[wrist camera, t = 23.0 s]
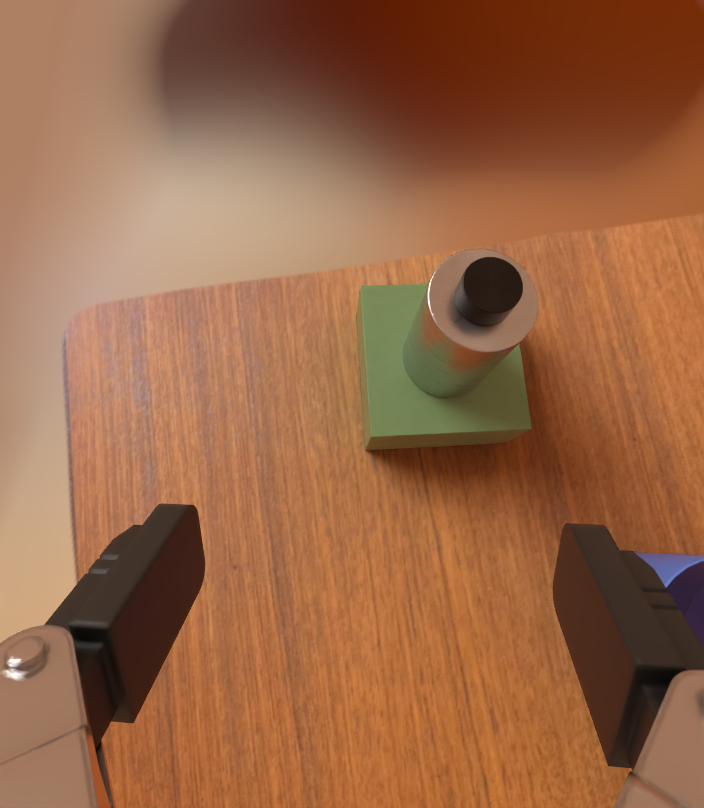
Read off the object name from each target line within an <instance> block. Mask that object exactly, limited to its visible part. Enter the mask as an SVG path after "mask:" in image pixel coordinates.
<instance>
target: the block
mask: <svg viewBox="0 0 704 808" xmlns="http://www.w3.org/2000/svg"><path fill="white" fill-rule="evenodd" d="M427 286H428V284H412V285H381V286H361V287H360V293H359V301H358V308H357V315H356V321H357V336H358V351H359V367H360V382H361V397H362V413H363V428H364V444H365V450H379V449H399V448H419V447H438V446H458V445H478V444H497V443H506V442H508V441H510V440H512V439H514V438H516V437H518V436H520V435H521V434H523V433H525V432H527V431H529V430H531V429H532V427H531V420H530V413H529V406H528V399H527V392H526V385H525V378H524V371H523V364H522V357H521V350H520V343H519V344H518V345H517V346H516V347H515V348H514V349H513V350H512V351H511V352H510V353H509V354H508V355H507V356H506V357H505V358H504V359H503V360H502V361H501V362H500V363H499V364H498V366H497V367H496V368H495V369H494V370H493V371H492V372H491V373H490V374H489V375H488V376H487V377H486V378H485V379H484V380H483V381H482V382H481V383H480V384H479V385H478V386H477V387H475V388H474V389H473V390H472V391H470V392H469V393H467V394H465V395H462V396H459V397H454V398H441V397H436V396H433V395H430V394H428V393H426V392H425V391H423V390H421V389H420V388H419V387H418V386H416V384H415V383H414V382H413V381H412V380H411V379H410V377H409V375H408V374H407V372H406V369H405V366H404V362H403V348H404V344H405V341H406V339H407V336H408V334H409V331H410V329H411V326H412V324H413V321H414V319H415V316H416V314H417V311H418V309H419V306H420V304H421V301H422V299H423V296H424V294H425V291H426V289H427Z"/></svg>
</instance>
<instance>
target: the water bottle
mask: <svg viewBox="0 0 704 808" xmlns="http://www.w3.org/2000/svg"><path fill="white" fill-rule="evenodd" d="M634 553H635V554H637V555H638V556H639V557H640V558H642V559H643V560H644V561H645V562H646V563H648V564H649V565H650V566H651V567H652V568H654V570H655V571H656V573H657V574H658V576H659V578H660V579H661V581H662V582H663V584H664V585H665V587H666V589H667V593H670V595H671V597H672V598H673V600H674V601H675V603H676V605H677V609H678V610H680V611H681V613H682V614H683V616H684V617H685V619H686V621H687V622H688V624H689V625H690V627H691V628H692V630H693V632H694V633H695V635H696V636H697V638H698V640H699V641H700V643H701V644H702V646H703V648H704V556H703V555H684V554H661V553H638V552H634Z"/></svg>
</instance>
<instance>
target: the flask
mask: <svg viewBox="0 0 704 808" xmlns="http://www.w3.org/2000/svg"><path fill="white" fill-rule="evenodd" d="M537 314H538V296H537V291H536V288H535V285H534V283H533V281H532V279H531V278H530V276H529V275H528V273H527V272H526V271H525V269H524V268H523V267H522V266H521V265H520V264H518V263H517V262H516V261H514V260H513V259H512V258H510V257H508V256H506V255H504V254H502V253H499V252H496V251H493V250H488V249H470V250H465V251H461V252H458V253H456V254H454V255H452V256H450V257H449V258H447V259H446V260H444V261H443V262H442V263H441V264H440V265H439V266H438V267H437V268H436V270H435V271H434V273H433V275H432V277H431V279H430V281H429V284H428V286H427V289H426V291H425V294H424V296H423V299H422V301H421V304H420V306H419V309H418V311H417V314H416V316H415V319H414V321H413V324H412V326H411V329H410V331H409V334H408V336H407V339H406V341H405V344H404V348H403V362H404V366H405V369H406V372H407V374H408V375H409V377H410V379H411V380H412V381H413V382H414V383H415V384H416V386H418V387H419V388H420V389H421V390H423V391H425V392H426V393H428V394H430V395H433V396H436V397H441V398H454V397H459V396H462V395H465V394H467V393H469V392H470V391H472V390H473V389H474V388H475V387H477V386H478V385H479V384H480V383H481V382H482V381H483V380H484V379H485V378H486V377H487V376H488V375H489V374H490V373H491V372H492V371H493V370H494V369H495V368H496V367H497V366H498V364H499V363H500V362H501V361H502V360H503V359H504V358H505V357H506V356H507V355H508V354H509V353H510V352H511V351H512V350H513V349H514V348H515V347H516V346H517V345H518V344H519V343H520V342H521V341H522V340H523V339H524V338H525V337H526V336H527V335H528V334H529V332H530V331H531V329H532V328H533V326H534V324H535V321H536V318H537Z"/></svg>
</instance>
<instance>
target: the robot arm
mask: <svg viewBox="0 0 704 808" xmlns="http://www.w3.org/2000/svg"><path fill="white" fill-rule="evenodd" d="M204 573H205V557H204V550H203V544H202V537H201V530H200V523H199V517H198V511H197V509H196V507H195V506H194V505H182V504H159V505H158V506H157V507H156V508H155V509H154V511H153V512H152V513H151V515H150V516H149V517H148V519H147V520H146V521H145V522H144V524H143V525H133V526H132V527H130V528H129V529H127V530H126V531H125V532H123V533H122V534H120V535H119V536H117V537H116V538H114V539H113V540H112V542H111V543H110V544H109V545H108V546H107V548H106V549H105V550H104V551H103V553H102V554H101V555H100V559H97V560H96V561H95V563H94V564H93V565H92V566H91V568H90V569H89V572H88V574H85V575H84V576H83V577H82V579H81V580H80V581H79V582H78V584H77V585H76V586H75V587H74V589H73V590H72V591H71V592H70V594H69V595H68V596H67V597H66V599H65V600H64V601H63V602H62V604H61V605H60V606H59V607H58V609H57V610H56V611H55V612H54V613H53V615H52V616H51V617H50V618H49V620H48V621H47V622H46V624H45V625H43V626H37V627H32V628H29V629H26V630H23V631H21V632H19V633H16V634H14V635H12V636H11V637H9V638H7V639H6V640H4V641H3V642H1V643H0V808H116V806H115V800H114V795H113V790H112V785H111V780H110V775H109V770H108V765H107V760H106V754H105V749H104V745H103V742H102V737H103V735H104V733H105V732H106V730H107V728H108V726H109V724H110V722H111V721H113V722H125V723H134V721H135V719H136V717H137V715H138V713H139V711H140V709H141V707H142V705H143V703H144V701H145V699H146V697H147V695H148V693H149V691H150V689H151V687H152V685H153V683H154V681H155V679H156V677H157V675H158V673H159V671H160V669H161V667H162V665H163V663H164V661H165V659H166V657H167V655H168V653H169V651H170V649H171V647H172V645H173V643H174V641H175V639H176V637H177V635H178V633H179V631H180V629H181V627H182V625H183V623H184V621H185V619H186V617H187V615H188V613H189V611H190V609H191V607H192V605H193V603H194V601H195V599H196V597H197V595H198V593H199V591H200V589H201V586H202V583H203V579H204ZM553 600H554V607H555V611H556V614H557V617H558V620H559V623H560V626H561V629H562V632H563V635H564V638H565V641H566V643H567V646H568V649H569V652H570V655H571V658H572V661H573V664H574V667H575V670H576V673H577V676H578V679H579V682H580V685H581V687H582V690H583V693H584V696H585V699H586V702H587V705H588V708H589V711H590V714H591V717H592V720H593V723H594V726H595V729H596V731H597V734H598V737H599V740H600V743H601V746H602V749H603V752H604V755H605V758H606V761H607V764H608V766H614V767H625V768H632V770H633V772H631V771H630V773H629V774H628V776H627V778H626V781H625V783H624V785H623V787H622V790H621V792H620V794H619V796H618V799H617V801H616V803H615V806H614V808H704V648H703V646H702V644H701V643H700V641H699V640H698V638H697V636H696V635H695V633H694V632H693V630H692V628H691V627H690V625H689V624H688V622H687V621H686V619H685V617H684V616H683V614H682V613H681V611H680V610H678V609H677V605H676V603H675V601H674V600H673V598H672V597H671V595H670V593H667V589H666V587H665V585H664V584H663V582H662V581H661V579H660V578H659V576H658V574H657V573H656V571H655V570H654V568H652V567H651V566H650V565H649V564H648V563H646V562H645V561H644V560H643V559H642V558H640V557H639V556H638V555H637V554H635V553H634V552H633V551H620V550H619V548H618V547H617V545H616V543H615V541H614V540H613V538H612V536H611V534H610V533H609V531H608V529H607V528H606V527H605V526H604V525H591V524H569V523H567V524H565V525H564V527H563V530H562V534H561V540H560V546H559V552H558V557H557V563H556V569H555V574H554V580H553Z"/></svg>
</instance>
